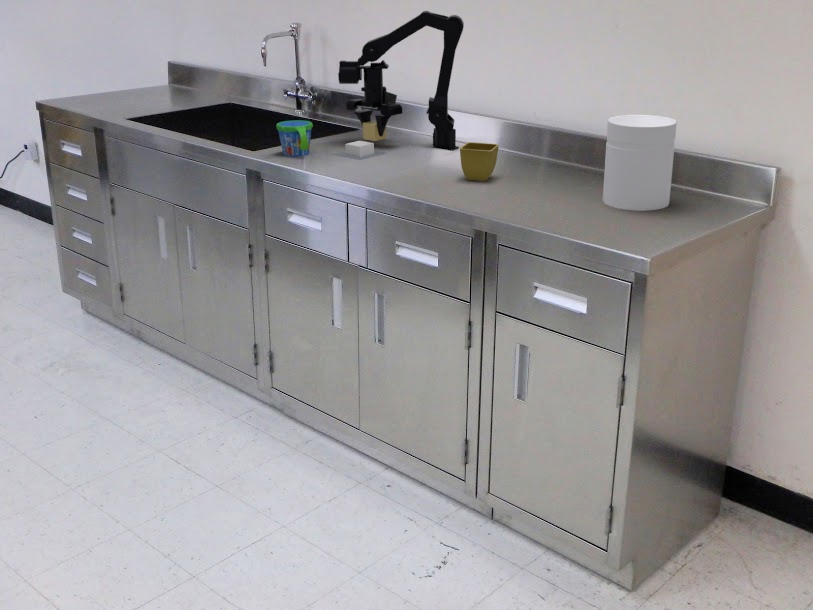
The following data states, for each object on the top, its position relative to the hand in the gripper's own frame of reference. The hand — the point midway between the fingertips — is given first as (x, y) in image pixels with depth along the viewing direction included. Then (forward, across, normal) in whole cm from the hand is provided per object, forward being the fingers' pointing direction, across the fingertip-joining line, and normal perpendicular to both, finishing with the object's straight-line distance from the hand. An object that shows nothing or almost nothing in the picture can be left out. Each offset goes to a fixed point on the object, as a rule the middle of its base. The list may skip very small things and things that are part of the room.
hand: (374, 135), depth 291 cm
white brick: (+3, -4, +11) cm, 12 cm away
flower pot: (+5, -48, +10) cm, 49 cm away
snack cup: (+4, +11, +23) cm, 26 cm away
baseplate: (+4, -4, +11) cm, 12 cm away
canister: (+5, -92, +4) cm, 92 cm away
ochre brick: (+1, 0, 0) cm, 1 cm away
